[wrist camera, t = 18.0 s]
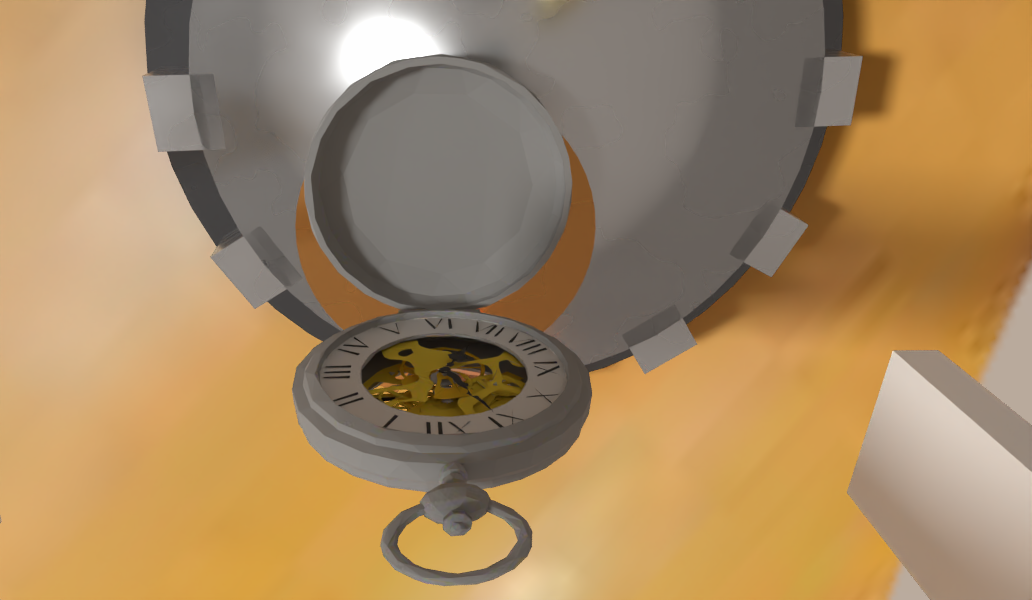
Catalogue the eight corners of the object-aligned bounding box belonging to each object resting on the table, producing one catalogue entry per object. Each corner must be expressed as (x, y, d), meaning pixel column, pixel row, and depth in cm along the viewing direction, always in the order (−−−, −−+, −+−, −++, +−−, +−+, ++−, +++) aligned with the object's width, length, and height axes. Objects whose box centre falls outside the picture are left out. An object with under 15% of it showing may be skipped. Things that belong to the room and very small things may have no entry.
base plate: (98, -390, 16) (87, -402, 16) (910, -286, 19) (925, -292, 19) (192, 380, 24) (187, 390, 24) (760, 376, 27) (768, 384, 26)
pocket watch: (481, -4, 18) (556, 47, 9) (636, 271, 22) (799, 501, 13) (201, 176, 19) (19, 383, 10) (393, 411, 23) (385, 721, 14)
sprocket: (66, 229, 21) (-100, 367, 14) (344, -532, 15) (295, -917, 8) (612, 453, 26) (684, 631, 20) (961, -47, 21) (1231, -43, 14)
